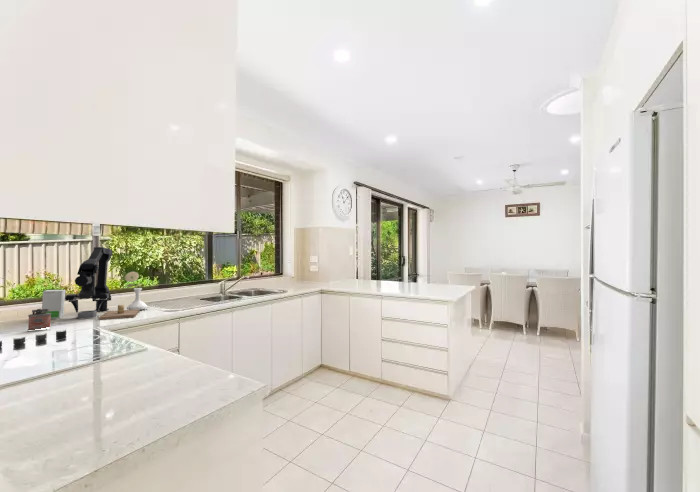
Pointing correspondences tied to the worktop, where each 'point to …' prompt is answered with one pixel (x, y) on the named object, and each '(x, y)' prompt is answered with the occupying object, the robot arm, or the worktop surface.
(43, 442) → the worktop surface
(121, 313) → the keeper board
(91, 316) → the steel link
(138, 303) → the flower in vase
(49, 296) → the skincare box
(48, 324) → the lighter
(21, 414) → the worktop surface
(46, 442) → the worktop surface
